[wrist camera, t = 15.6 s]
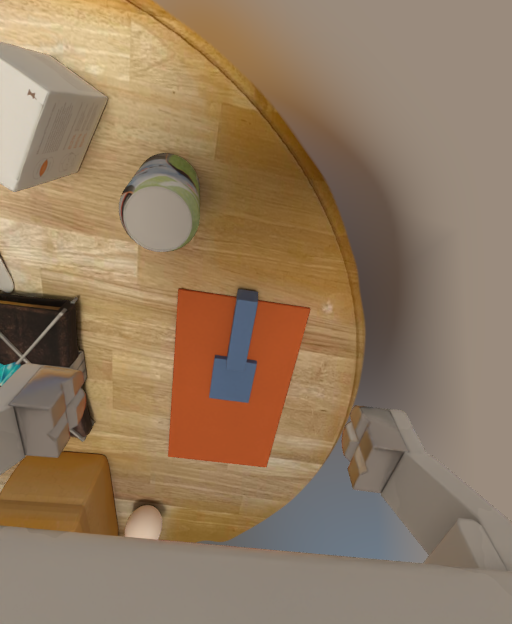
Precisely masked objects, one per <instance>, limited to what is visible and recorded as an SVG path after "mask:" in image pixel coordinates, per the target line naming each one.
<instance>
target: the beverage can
mask: <svg viewBox="0 0 512 624" xmlns="http://www.w3.org/2000/svg"><path fill="white" fill-rule="evenodd" d="M119 215H120V220H121V223H122V225H123V227H124V229H125V231H126V232H127V234H128V235H129V236H130V237H131V238H132V239H133V240H134V241H135V242H136V243H137V244H139V245H140V246H142V247H144V248H146V249H148V250H151V251H156V252H169V251H174V250H177V249H179V248H181V247H183V246H185V245H186V244H187V243H188V242H190V240H191V239H192V238H193V237H194V235H195V233H196V231H197V229H198V226H199V220H200V184H199V179H198V176H197V174H196V172H195V170H194V169H193V167H192V166H191V165H190V164H189V163H188V162H187V161H186V160H184V159H183V158H181V157H179V156H177V155H174V154H169V153H162V154H157V155H154V156H152V157H150V158H149V159H147V160H146V161H145V162H144V163H143V165H142V166H141V167H140V169H139V170H138V171H137V173H136V174H135V176H134V177H133V178H132V180H131V181H130V182H129V184H128V185H127V186H126V188H125V189H124V191H123V193H122V195H121V198H120V202H119Z"/></svg>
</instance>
